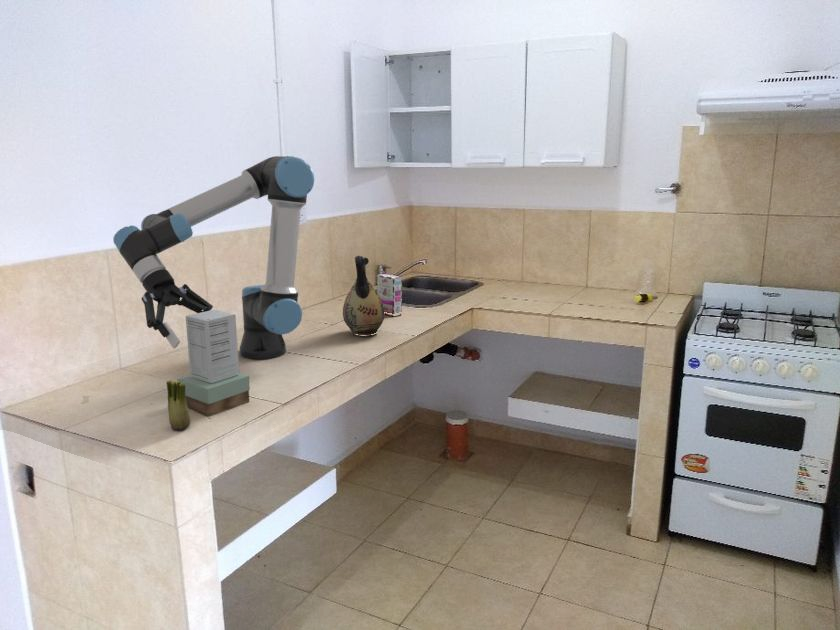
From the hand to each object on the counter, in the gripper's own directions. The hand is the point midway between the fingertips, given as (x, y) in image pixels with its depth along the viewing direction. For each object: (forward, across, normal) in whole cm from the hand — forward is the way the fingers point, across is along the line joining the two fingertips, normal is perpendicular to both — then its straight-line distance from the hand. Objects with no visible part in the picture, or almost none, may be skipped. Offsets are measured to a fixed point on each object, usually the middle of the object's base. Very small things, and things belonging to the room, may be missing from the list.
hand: (197, 339), depth 171 cm
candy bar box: (+6, -111, -19) cm, 113 cm away
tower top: (+13, -1, -7) cm, 15 cm away
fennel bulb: (+19, +15, -6) cm, 25 cm away
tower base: (+16, 0, -10) cm, 18 cm away
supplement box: (+10, -1, -4) cm, 11 cm away
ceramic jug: (+12, -78, -13) cm, 80 cm away
